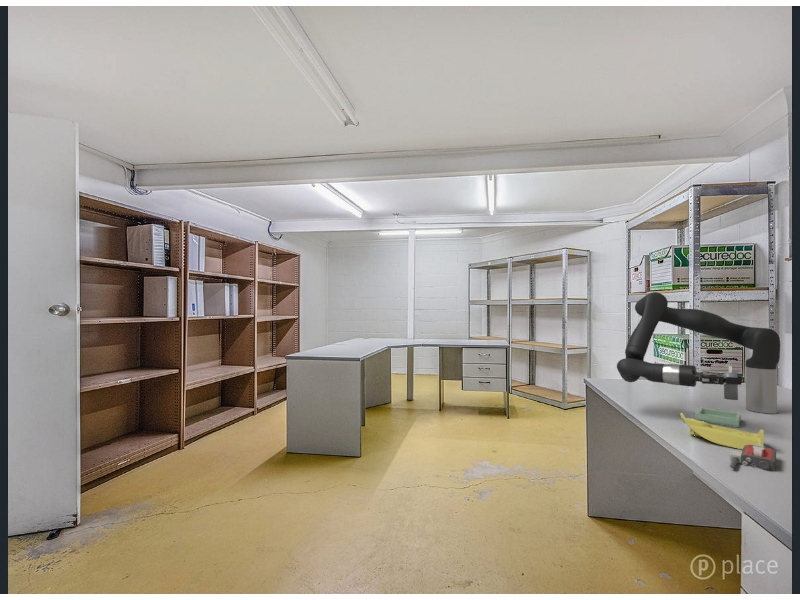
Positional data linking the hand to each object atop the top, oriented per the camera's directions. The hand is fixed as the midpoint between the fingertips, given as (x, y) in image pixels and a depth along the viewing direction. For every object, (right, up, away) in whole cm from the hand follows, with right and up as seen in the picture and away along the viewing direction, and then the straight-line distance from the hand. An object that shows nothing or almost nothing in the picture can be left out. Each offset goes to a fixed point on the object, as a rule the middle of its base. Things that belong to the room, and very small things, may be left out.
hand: (741, 380), depth 131 cm
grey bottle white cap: (-2, -7, +2) cm, 7 cm away
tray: (+2, -17, +12) cm, 21 cm away
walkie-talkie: (-22, -17, -28) cm, 39 cm away
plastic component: (-15, -17, -10) cm, 25 cm away
